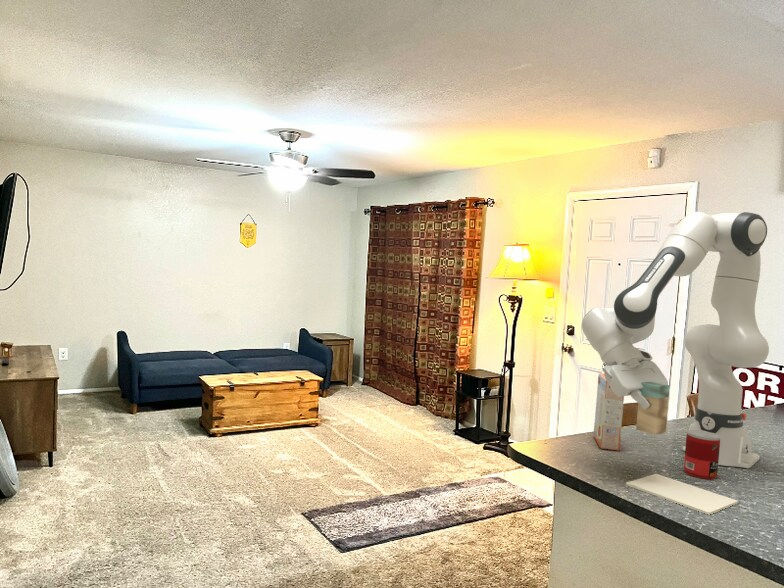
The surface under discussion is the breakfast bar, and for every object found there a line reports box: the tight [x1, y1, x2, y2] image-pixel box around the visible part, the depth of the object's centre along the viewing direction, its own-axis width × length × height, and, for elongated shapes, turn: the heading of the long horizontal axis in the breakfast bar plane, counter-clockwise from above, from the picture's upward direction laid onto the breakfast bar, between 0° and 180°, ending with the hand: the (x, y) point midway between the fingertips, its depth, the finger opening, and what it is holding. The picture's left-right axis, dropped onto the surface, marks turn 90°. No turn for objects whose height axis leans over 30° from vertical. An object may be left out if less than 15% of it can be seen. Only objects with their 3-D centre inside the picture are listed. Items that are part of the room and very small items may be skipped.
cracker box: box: [592, 372, 625, 452], centre depth 179 cm, size 14×6×21 cm, turn 168°
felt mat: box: [625, 473, 739, 516], centre depth 139 cm, size 14×20×1 cm
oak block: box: [635, 381, 670, 436], centre depth 146 cm, size 5×5×12 cm
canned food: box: [683, 430, 720, 480], centre depth 155 cm, size 8×8×11 cm
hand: (655, 406), depth 146 cm, fingers closed on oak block, 5 cm apart
